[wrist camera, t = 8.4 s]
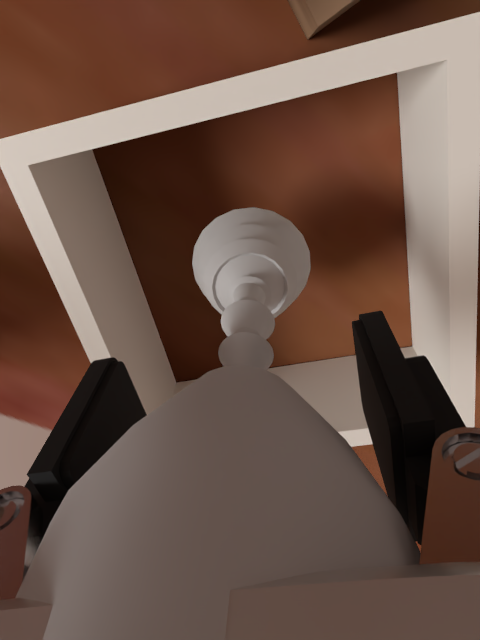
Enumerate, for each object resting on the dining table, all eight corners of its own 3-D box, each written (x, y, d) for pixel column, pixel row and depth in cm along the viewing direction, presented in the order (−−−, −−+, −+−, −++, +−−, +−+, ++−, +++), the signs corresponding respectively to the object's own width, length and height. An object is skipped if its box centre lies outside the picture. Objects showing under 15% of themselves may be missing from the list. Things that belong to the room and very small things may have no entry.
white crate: (62, 126, 20) (-11, 141, 15) (420, 32, 18) (483, 10, 12) (165, 397, 28) (140, 471, 22) (431, 358, 25) (474, 431, 20)
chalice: (149, 304, 20) (-250, 1140, 4) (192, 156, 17) (-778, 1387, 1) (298, 352, 21) (400, 1180, 5) (365, 222, 18) (1131, 1374, 2)
